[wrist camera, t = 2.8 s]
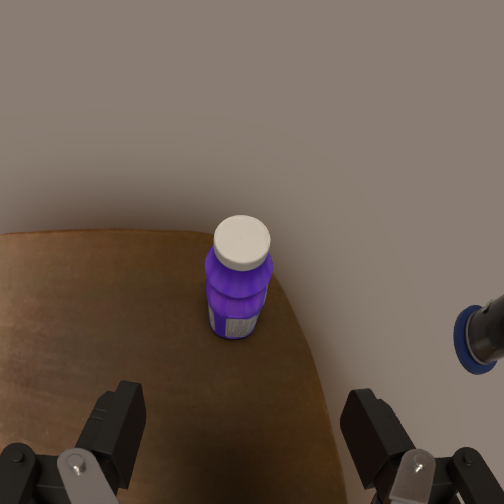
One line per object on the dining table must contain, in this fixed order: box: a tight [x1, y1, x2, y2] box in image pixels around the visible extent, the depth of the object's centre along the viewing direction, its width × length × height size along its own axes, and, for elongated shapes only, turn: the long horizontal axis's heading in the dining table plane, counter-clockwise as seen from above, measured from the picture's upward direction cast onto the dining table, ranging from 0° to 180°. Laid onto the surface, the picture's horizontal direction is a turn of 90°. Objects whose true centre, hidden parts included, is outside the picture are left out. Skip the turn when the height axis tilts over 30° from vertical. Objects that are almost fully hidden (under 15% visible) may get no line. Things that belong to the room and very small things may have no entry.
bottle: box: [205, 215, 273, 339], centre depth 29 cm, size 7×6×17 cm
